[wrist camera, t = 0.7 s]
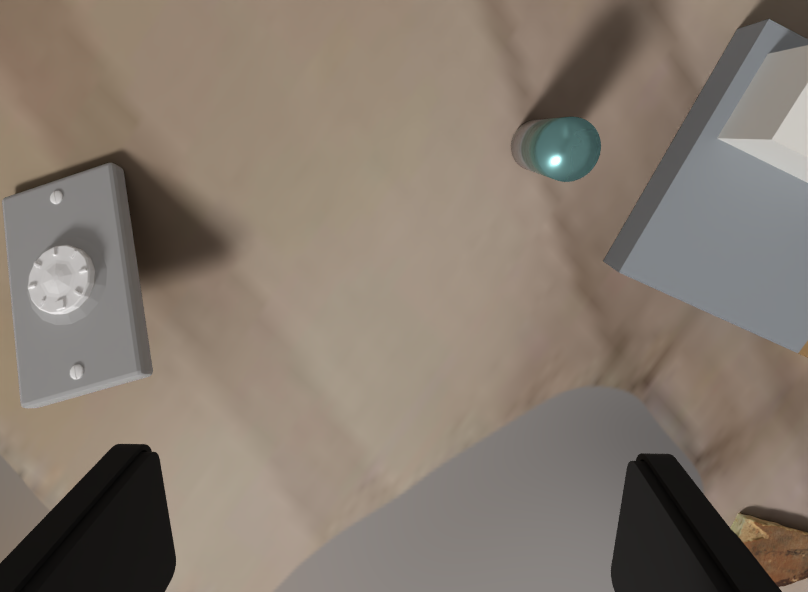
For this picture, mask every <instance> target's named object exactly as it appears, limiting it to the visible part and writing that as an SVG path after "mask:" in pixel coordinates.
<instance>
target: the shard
mask: <svg viewBox="0 0 808 592" xmlns="http://www.w3.org/2000/svg"><path fill="white" fill-rule="evenodd" d="M730 529H731V530H732V531H733V532H734V533H735V534H736V535H737V536H738V537H739V538H740V539H741V540H742V542H743V543H744V544H745V545H746V547H747V548H748V549H749V551H750V552H751V553H752V554H753V556H754V557H755V558H756V559H757V561H758V562H759V563H760V565H761V566H762V567H763V568H764V570H765V571H766V572H767V573H768V575H769V576H770V577H771V579H772V580H773V581H774V582H775V584H776V585H777V586H778V587H780V586H786V585H789V584H792V583H794V582H796V581H800V580H803V579H806V578H808V532H804V531H799V530H796V529H792V528H788V527H785V526H782V525H780V524H778V523H775V522H769V521H766V520H762V519H758V518H756V517H753V516H751V515H743V514H741V513H738V515H737V517H736V519H735V521H734V523H733V524H732V526H731V528H730Z"/></svg>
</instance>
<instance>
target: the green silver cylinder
mask: <svg viewBox="0 0 808 592" xmlns="http://www.w3.org/2000/svg"><path fill="white" fill-rule="evenodd" d="M600 151H601V142H600V137H599V134H598V132H597V130H596V129H595V127H594V126H593V125H592V124H591V123H590V122H588V121H586V120H585V119H582V118H579V117H562V118H551V119H540V120H532V121H528V122H526V123H524V124H523V125H522V126H520V127H519V128H518V129H517V131H516V132H515V134H514V136H513V138H512V142H511V152H512V155H513V158H514V160H515V161H516V162H517V164H518V165H520V166H521V167H523V168H525V169H527V170H530V171H533V172H536V173H538V174H541V175H544V176H547V177H549V178H552V179H555V180H558V181H563V182H570V181H575V180H578V179H580V178H582V177H584V176H585V175H587V174H588V173H589V172H590V171H591V170H592V169H593V167H594V166H595V165H596V163H597V161H598V159H599V156H600Z"/></svg>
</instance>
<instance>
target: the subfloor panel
mask: <svg viewBox="0 0 808 592" xmlns="http://www.w3.org/2000/svg"><path fill="white" fill-rule="evenodd" d="M806 45H808V39H806V38H804V37H802V36H800V35H799V34H797V33H795V32H793V31H791V30H789V29H787V28H785V27H783V26H781V25H780V24H778V23H776V22H774V21H772V20H770V19H767V20H764V21H761V22H758V23H755V24H751V25H748V26H745V27H742V28H739V29H737V30H736V32H735V34H734V36H733V37H732V39H731V41H730V43H729V44H728V46H727V48H726V49H725V51H724V53H723V55H722V56H721V58H720V60H719V62H718V63H717V65H716V67H715V69H714V70H713V72H712V74H711V75H710V77H709V79H708V81H707V82H706V84H705V86H704V88H703V89H702V91H701V93H700V94H699V96H698V98H697V100H696V101H695V103H694V105H693V107H692V108H691V110H690V112H689V113H688V115H687V117H686V119H685V120H684V122H683V124H682V126H681V127H680V129H679V131H678V133H677V134H676V136H675V138H674V139H673V141H672V143H671V145H670V146H669V148H668V150H667V152H666V153H665V155H664V157H663V158H662V160H661V162H660V164H659V165H658V167H657V169H656V171H655V172H654V174H653V176H652V178H651V179H650V181H649V183H648V184H647V186H646V188H645V190H644V191H643V193H642V195H641V197H640V198H639V200H638V202H637V203H636V205H635V207H634V209H633V210H632V212H631V214H630V216H629V217H628V219H627V221H626V222H625V224H624V226H623V228H622V229H621V231H620V233H619V235H618V236H617V238H616V240H615V242H614V243H613V245H612V247H611V248H610V250H609V252H608V254H607V255H606V257H605V259H604V262H605V263H606V264H608V265H609V266H611V267H612V268H613V269H615V270H616V271H618V272H619V273H621V274H624V275H626V276H628V277H630V278H632V279H635V280H637V281H639V282H641V283H644V284H646V285H648V286H650V287H652V288H655V289H657V290H659V291H661V292H663V293H666V294H668V295H670V296H672V297H675V298H677V299H679V300H681V301H683V302H686V303H688V304H690V305H692V306H694V307H697V308H699V309H701V310H703V311H706V312H708V313H710V314H712V315H714V316H717V317H719V318H721V319H723V320H725V321H728V322H730V323H732V324H734V325H736V326H739V327H741V328H743V329H745V330H748V331H750V332H752V333H754V334H756V335H759V336H761V337H763V338H765V339H767V340H770V341H772V342H774V343H776V344H779V345H781V346H783V347H785V348H787V349H790V350H792V351H794V352H796V353H798V354H801V355H803V356H805V357H807V358H808V183H807V182H805V181H803V180H801V179H799V178H797V177H795V176H793V175H791V174H789V173H787V172H785V171H783V170H781V169H778V168H776V167H774V166H772V165H770V164H768V163H766V162H764V161H762V160H760V159H758V158H756V157H754V156H752V155H750V154H748V153H746V152H744V151H742V150H740V149H738V148H736V147H734V146H732V145H730V144H728V143H726V142H724V141H722V140H720V139H718V138H717V137H718V136H719V134H720V132H721V131H722V129H723V127H724V126H725V124H726V122H727V121H728V119H729V117H730V116H731V114H732V112H733V111H734V109H735V107H736V106H737V104H738V102H739V101H740V99H741V98H742V96H743V94H744V93H745V91H746V89H747V88H748V86H749V84H750V83H751V81H752V79H753V78H754V76H755V74H756V73H757V71H758V69H759V68H760V66H761V64H762V63H763V61H764V59H765V58H766V56H767V54H769V53H774V52H779V51H783V50H788V49H792V48H797V47H801V46H806Z"/></svg>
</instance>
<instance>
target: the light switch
mask: <svg viewBox="0 0 808 592" xmlns="http://www.w3.org/2000/svg"><path fill="white" fill-rule="evenodd" d="M2 204H3V215H4V226H5V237H6V248H7V259H8V270H9V281H10V292H11V303H12V313H13V324H14V335H15V346H16V357H17V368H18V379H19V390H20V401H21V406H22V407H24V408H39V407H42V406H46V405H49V404H53V403H56V402H60V401H64V400H67V399H71V398H74V397H78V396H81V395H85V394H88V393H92V392H96V391H99V390H103V389H106V388H110V387H113V386H117V385H120V384H124V383H128V382H131V381H135V380H138V379H142V378H145V377H149V376H150V375H152V372H153V368H152V361H151V355H150V348H149V341H148V334H147V327H146V321H145V314H144V307H143V300H142V293H141V287H140V280H139V273H138V266H137V259H136V253H135V246H134V239H133V232H132V225H131V219H130V212H129V205H128V198H127V191H126V185H125V178H124V171H123V169H122V168H121V167H119V166H118V165H116V164H114V163H107V164H104V165H101V166H98V167H95V168H92V169H89V170H86V171H83V172H80V173H77V174H74V175H71V176H68V177H65V178H62V179H59V180H56V181H53V182H50V183H47V184H44V185H41V186H38V187H35V188H32V189H29V190H26V191H23V192H20V193H17V194H14V195H11V196H8V197H5V198H4V199H3V201H2ZM72 246H73V247H72ZM75 247H76V248H75ZM78 248H79V249H78ZM81 249H82V250H81Z"/></svg>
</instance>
